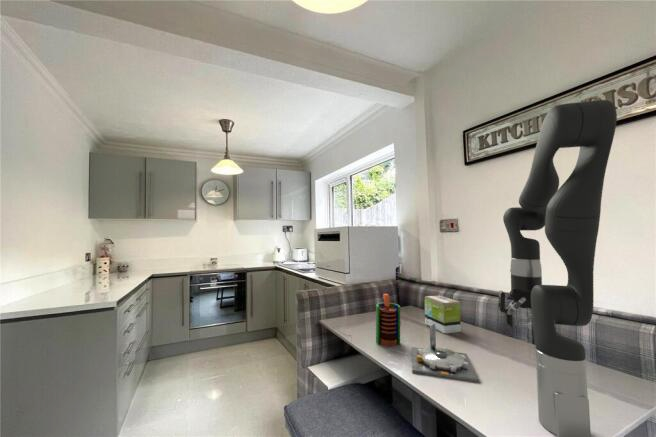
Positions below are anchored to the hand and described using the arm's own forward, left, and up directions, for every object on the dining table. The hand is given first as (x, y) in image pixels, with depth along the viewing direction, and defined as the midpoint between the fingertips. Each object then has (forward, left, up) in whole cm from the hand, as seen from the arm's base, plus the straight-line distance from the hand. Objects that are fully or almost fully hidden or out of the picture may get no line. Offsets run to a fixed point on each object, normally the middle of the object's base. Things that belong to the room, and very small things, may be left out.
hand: (527, 328), depth 81 cm
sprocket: (+11, +23, -17) cm, 31 cm away
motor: (+26, +43, -18) cm, 54 cm away
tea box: (+54, +18, -19) cm, 60 cm away
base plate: (+11, +23, -18) cm, 31 cm away
